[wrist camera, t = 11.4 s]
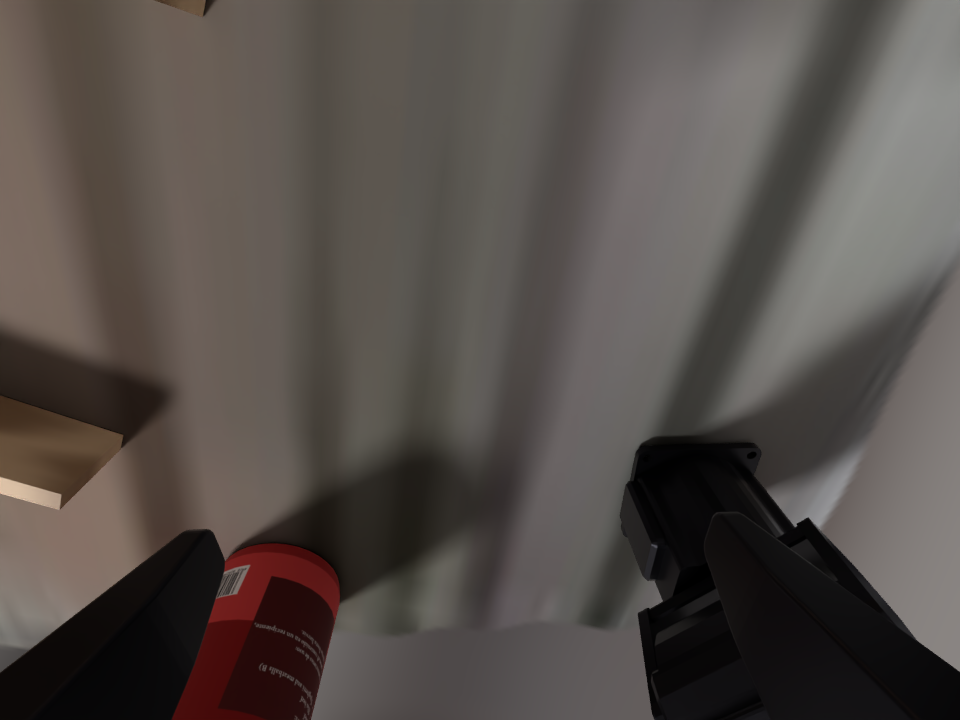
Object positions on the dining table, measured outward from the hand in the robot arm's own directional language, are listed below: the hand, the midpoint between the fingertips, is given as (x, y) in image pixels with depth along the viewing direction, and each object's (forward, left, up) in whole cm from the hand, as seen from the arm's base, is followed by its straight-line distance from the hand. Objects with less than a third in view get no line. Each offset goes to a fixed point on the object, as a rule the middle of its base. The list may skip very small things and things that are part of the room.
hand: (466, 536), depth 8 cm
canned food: (+12, +19, -13) cm, 26 cm away
